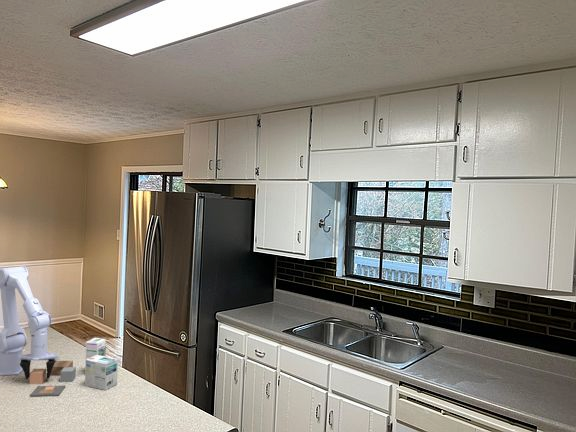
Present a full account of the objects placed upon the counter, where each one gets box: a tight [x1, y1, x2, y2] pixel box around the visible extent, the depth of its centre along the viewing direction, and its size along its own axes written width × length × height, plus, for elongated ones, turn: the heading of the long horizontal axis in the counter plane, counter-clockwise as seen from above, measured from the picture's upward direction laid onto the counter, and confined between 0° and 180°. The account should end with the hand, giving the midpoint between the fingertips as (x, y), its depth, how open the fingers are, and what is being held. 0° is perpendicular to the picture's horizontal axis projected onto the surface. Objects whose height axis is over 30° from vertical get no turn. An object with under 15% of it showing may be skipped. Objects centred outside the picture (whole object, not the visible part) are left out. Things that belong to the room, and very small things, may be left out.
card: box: [29, 385, 66, 398], centre depth 169 cm, size 10×8×1 cm
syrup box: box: [85, 337, 107, 360], centre depth 188 cm, size 6×6×14 cm
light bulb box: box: [84, 355, 119, 391], centre depth 177 cm, size 11×7×11 cm, turn 71°
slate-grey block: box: [59, 366, 77, 383], centre depth 180 cm, size 4×4×4 cm
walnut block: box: [50, 360, 74, 377], centre depth 187 cm, size 7×7×4 cm
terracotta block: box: [29, 368, 47, 385], centre depth 177 cm, size 4×4×4 cm
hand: (38, 377), depth 177 cm, fingers open, 7 cm apart
